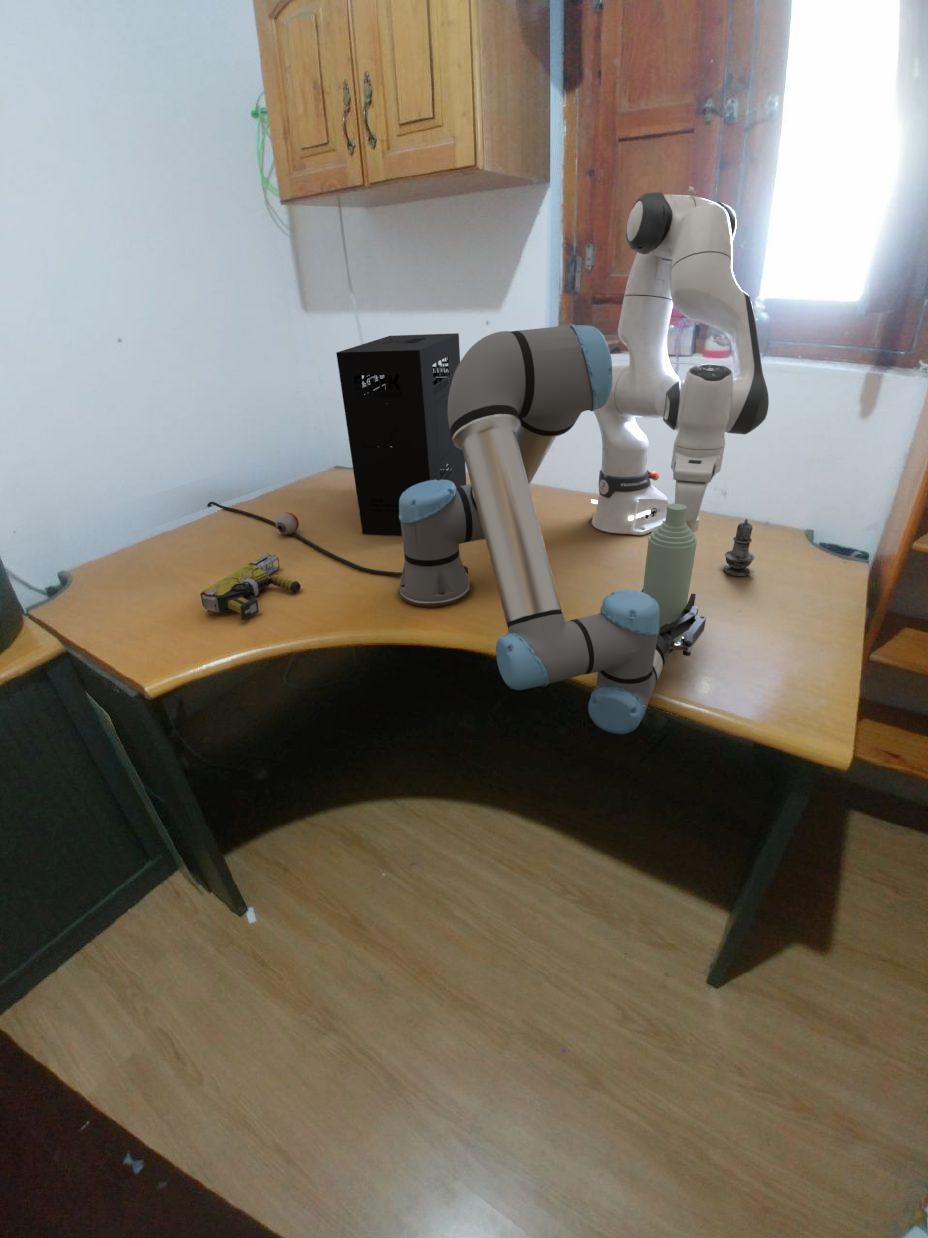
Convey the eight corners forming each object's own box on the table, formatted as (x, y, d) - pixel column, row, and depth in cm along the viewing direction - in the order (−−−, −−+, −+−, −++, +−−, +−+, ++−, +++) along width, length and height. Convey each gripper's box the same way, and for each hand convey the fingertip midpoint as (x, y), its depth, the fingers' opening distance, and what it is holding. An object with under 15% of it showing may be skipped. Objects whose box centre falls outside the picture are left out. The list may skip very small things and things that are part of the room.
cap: (671, 529, 119) (672, 518, 118) (680, 523, 121) (681, 512, 120) (692, 534, 116) (694, 523, 115) (700, 528, 119) (702, 516, 118)
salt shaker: (753, 577, 129) (764, 524, 123) (724, 576, 130) (734, 523, 124) (748, 565, 134) (758, 514, 128) (720, 564, 135) (729, 513, 129)
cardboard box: (434, 536, 158) (419, 349, 136) (362, 533, 163) (336, 352, 140) (466, 490, 190) (458, 333, 167) (405, 489, 194) (389, 335, 172)
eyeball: (273, 537, 164) (268, 516, 161) (287, 528, 169) (282, 508, 166) (291, 539, 161) (286, 518, 158) (305, 530, 166) (301, 510, 163)
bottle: (681, 628, 113) (701, 500, 101) (681, 650, 107) (702, 516, 94) (639, 623, 115) (653, 497, 103) (636, 644, 109) (651, 513, 96)
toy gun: (320, 562, 140) (265, 550, 144) (256, 606, 120) (194, 592, 124) (321, 580, 142) (267, 568, 146) (259, 627, 122) (198, 612, 126)
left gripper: (574, 664, 101) (612, 603, 118) (704, 695, 92) (724, 624, 109) (576, 626, 97) (615, 569, 114) (712, 653, 88) (731, 587, 105)
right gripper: (684, 445, 122) (675, 511, 128) (672, 473, 105) (662, 546, 112) (717, 447, 119) (706, 514, 126) (711, 476, 103) (698, 551, 110)
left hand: (668, 596), depth 112 cm, fingers closed on bottle, 8 cm apart
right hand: (685, 530), depth 119 cm, fingers closed on cap, 4 cm apart
